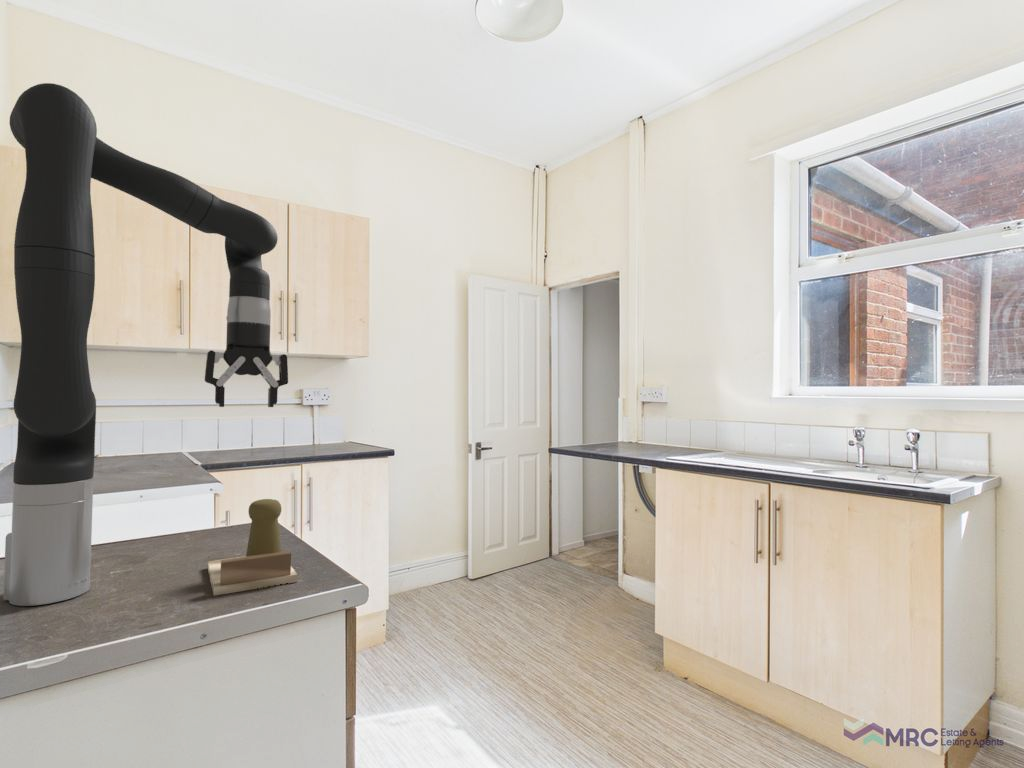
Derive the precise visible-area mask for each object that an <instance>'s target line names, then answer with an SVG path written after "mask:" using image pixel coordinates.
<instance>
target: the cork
mask: <svg viewBox="0 0 1024 768" xmlns="http://www.w3.org/2000/svg"><path fill="white" fill-rule="evenodd" d="M281 513H282V504H281V503H280V501H279V500H276V499H272V498H263V499H258V500H255V501H252V502H251V503H250V505H249V507H248V516H249V519H251V524H250V530H249V536H248V542H247V548H246V554H245V556H246V557H247V556H255V555H262V554H270V553H277V552H282V544H281V537H280V535H281V534H280V529H279V528H280V527H279V517H280V515H281Z"/></svg>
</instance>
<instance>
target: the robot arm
mask: <svg viewBox="0 0 1024 768" xmlns="http://www.w3.org/2000/svg"><path fill="white" fill-rule="evenodd" d="M8 124H9V127H10V131H11V133H12V135H13V137H14V139H15V140H16V141H17V143H19V145H20V146H21V147H22V148H23V149H24V151H25V163H26V165H25V166H26V170H25V171H26V173H25V175H26V176H25V184H24V189H23V193H22V197H21V200H20V201H21V202H20V205H19V209H18V214H17V219H16V226H15V233H14V246H13V249H14V250H13V252H14V253H13V257H14V259H13V260H14V263H13V264H14V269H13V271H14V283H15V285H14V287H15V297H16V298H15V299H16V307H17V313H18V320H19V326H20V335H21V347H20V356H19V358H20V359H19V366H18V375H17V380H16V381H17V383H16V388H15V393H14V399H13V411H14V412H13V413H14V414H15V417H16V419H17V420H18V421H17V423H18V424H17V442H16V444H17V445H16V454H15V460H14V464H13V477H12V478H13V481H12V482H13V483H12V484H13V485H12V486H13V487H12V513H11V515H12V517H11V518H12V519H11V532H8V533H7V534H6V536H5V541H4V542H5V545H4V546H5V547H4V571H3V573H4V575H3V601H8V602H9V604H11V605H13V606H19V607H20V606H21V607H26V606H27V607H29V606H30V607H31V606H41V605H42V606H43V605H48V604H53V603H58V602H62V601H67V600H69V599H73V598H76V597H79V596H81V595H83V594H85V593H87V592H88V591H89V590H90V587H91V585H90V584H91V563H92V562H91V559H92V532H93V530H92V529H93V503H94V501H93V500H94V497H93V495H94V494H93V493H94V471H95V470H94V469H95V468H94V467H95V456H96V455H95V454H96V452H95V451H96V445H95V443H96V423H97V421H96V420H97V419H96V418H97V399H96V395H95V393H94V391H93V388H92V382H91V376H90V368H89V357H88V331H89V327H90V322H91V318H92V311H93V304H94V296H95V285H96V284H95V281H96V262H95V261H96V260H95V259H96V254H95V237H94V219H93V209H92V208H93V207H92V198H91V197H92V194H91V182H92V179H93V180H95V181H98V182H100V183H103V184H105V185H107V186H109V187H111V188H114V189H117V190H119V191H120V192H123V193H125V194H128V195H129V196H132V197H133V198H137V199H138V200H139V201H143V202H145V204H148V205H151V206H152V207H154V208H156V209H158V210H160V211H162V212H164V213H166V214H167V215H169V216H171V217H173V218H175V219H177V220H179V221H181V222H182V223H184V224H186V225H188V226H190V227H191V228H194V229H196V230H197V231H200V232H201V233H205V234H215V235H217V234H218V235H220V236H222V237H224V250H225V257H226V264H227V267H228V272H229V277H230V278H229V291H228V294H229V295H228V296H229V298H228V303H227V309H226V310H227V312H226V317H225V318H226V343H225V344H226V347H225V350H224V352H219V351H218V352H217V351H214V350H209V351H208V352H207V353H206V361H205V362H206V363H205V372H204V373H205V374H204V382H205V383H207V384H210V385H212V386H214V387H215V392H214V393H215V397H214V399H215V401H214V402H215V404H216V405H218V406H219V408H224V407H225V389H226V388H225V386H224V385H225V384H226V382H227V381H229V379H230V378H231V377H233V375H234V374H235V375H238V376H245V375H249V376H258V375H260V376H261V377H262V378H263V380H265V382H266V383H267V385H269V388H268V390H267V391H268V393H267V395H268V396H267V407H268V408H274V406H275V405H277V404H278V403H277V402H278V391H279V389H278V388H280V387H282V386H285V385H288V383H289V371H288V369H289V368H288V365H289V364H288V355H286V354H276V355H275V354H274V355H272V353H271V349H270V348H271V347H270V346H271V316H272V315H271V306H270V300H271V299H270V298H271V297H270V295H271V280H270V275H269V273H268V272H267V271H266V270H264V269H263V266H262V265H263V264H262V255H265V254H268V253H270V252H271V251H272V250H273V251H274V249H275V248H276V246H277V245H278V238H279V237H278V233H277V231H276V229H275V227H274V226H273V224H271V222H270V221H268V220H267V219H266V218H265V217H263V216H262V215H260V214H258V213H256V212H254V211H253V210H252V211H251V210H249V209H247V208H244V207H242V206H239V205H237V204H235V203H233V202H228V201H226V200H223V199H221V198H220V197H218V196H216V195H215V194H213V193H211V192H210V191H208V190H206V189H205V188H203V187H201V186H200V185H198V184H196V183H195V182H193V181H191V180H189V179H188V178H186V177H184V176H182V175H179V174H177V173H175V172H172V171H170V170H167V169H164V168H162V167H159V166H155V165H153V164H150V163H147V162H145V161H143V160H139V159H137V158H134V157H132V156H130V155H128V154H126V153H124V152H121V151H119V150H118V149H116V148H114V147H112V146H111V145H109V144H107V143H106V142H105V141H103V140H102V139H100V138H98V137H97V131H98V129H97V123H96V119H95V116H94V114H93V112H92V110H91V108H90V107H89V106H88V104H87V103H86V101H85V100H84V99H83V98H82V97H80V96H79V95H78V94H77V93H76V92H74V91H73V90H71V89H70V88H68V87H65V86H63V85H60V84H58V83H50V82H49V83H47V82H46V83H45V82H43V83H39V84H34V85H33V86H30V87H29V88H27V89H25V90H24V91H23V92H22V93H21V94H20V95H19V96H18V98H17V100H16V102H15V104H14V106H13V108H12V110H11V112H10V116H9V123H8ZM221 359H223V361H225V362H226V364H227V365H228V368H227V369H226V370H225V371H224V372H223V374H221V375H220V377H219V378H217V377H214V372H215V371H214V370H215V364H218V363H219V362H220V360H221ZM272 361H274V363H275V366H277V367H278V375H279V376H278V378H279V379H276V378H275V377H274V376H273V374H272V373H271V372H270V370H269V369H268V368H267V367H268V366H269V365H270V364H271V362H272Z"/></svg>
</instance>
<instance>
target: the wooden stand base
mask: <svg viewBox="0 0 1024 768" xmlns="http://www.w3.org/2000/svg"><path fill="white" fill-rule="evenodd" d="M291 562H292V552H291V551H290V550H286V551H281V552H277V553H270V554H262V555H255V556H247V557H246V555H245V556H244V555H243V556H238V557H230V558H223V559H215V560H214V559H213V560H210V561H207V571H208V572H207V573H208V576H209V582H210V585H211V589H212V594H213V597H214V596H219V595H225V594H233V593H237V592H244V591H249V590H250V591H251V590H257V588H258V589H264V588H267V587H268V586H270V587H275V586H274V585H276V586H281V585H280V584H282V585H287V584H286V583H288V584H293V583H298V573H297V572H296V570H295V569H294V568H293V566H292V565H291V564H292V563H291ZM263 587H264V588H263ZM268 588H269V587H268Z"/></svg>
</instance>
